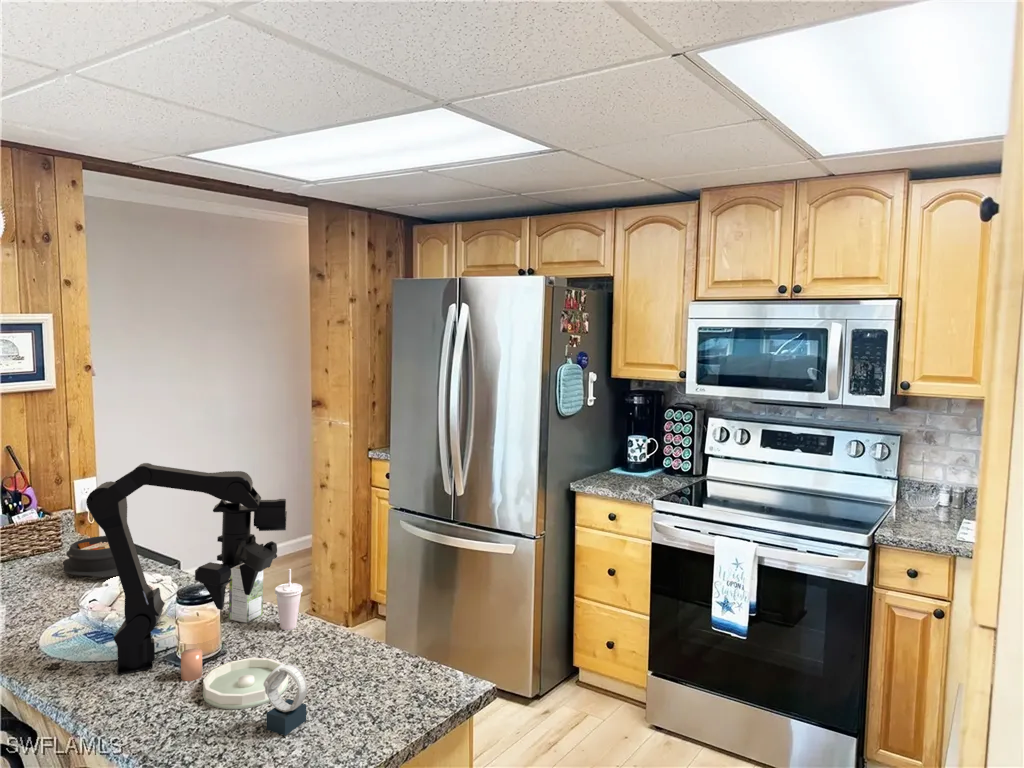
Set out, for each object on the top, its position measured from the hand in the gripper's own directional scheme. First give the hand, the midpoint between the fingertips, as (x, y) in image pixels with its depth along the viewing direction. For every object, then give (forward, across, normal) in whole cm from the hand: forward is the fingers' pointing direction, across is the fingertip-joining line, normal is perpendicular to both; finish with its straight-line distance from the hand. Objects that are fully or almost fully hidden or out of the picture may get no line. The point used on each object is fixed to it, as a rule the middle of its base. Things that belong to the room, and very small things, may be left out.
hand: (234, 601), depth 154 cm
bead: (+12, -10, +2) cm, 16 cm away
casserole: (+14, +33, +70) cm, 79 cm away
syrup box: (+12, +19, +10) cm, 25 cm away
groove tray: (+12, -10, -11) cm, 20 cm away
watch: (+12, -20, -26) cm, 35 cm away
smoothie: (+12, +18, -2) cm, 22 cm away
